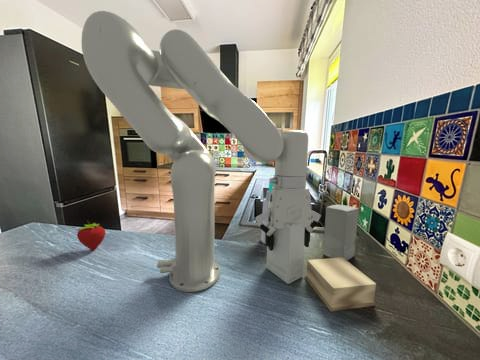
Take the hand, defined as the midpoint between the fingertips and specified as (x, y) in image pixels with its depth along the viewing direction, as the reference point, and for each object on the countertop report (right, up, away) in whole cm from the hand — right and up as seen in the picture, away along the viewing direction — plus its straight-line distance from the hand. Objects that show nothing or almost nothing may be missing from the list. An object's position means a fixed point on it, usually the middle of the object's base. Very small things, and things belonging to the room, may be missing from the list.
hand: (287, 246), depth 49 cm
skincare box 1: (-1, -8, +1) cm, 8 cm away
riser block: (+10, -9, -5) cm, 14 cm away
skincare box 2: (+19, -7, +11) cm, 22 cm away
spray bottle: (-2, -5, +18) cm, 19 cm away
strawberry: (-58, -5, +9) cm, 59 cm away
